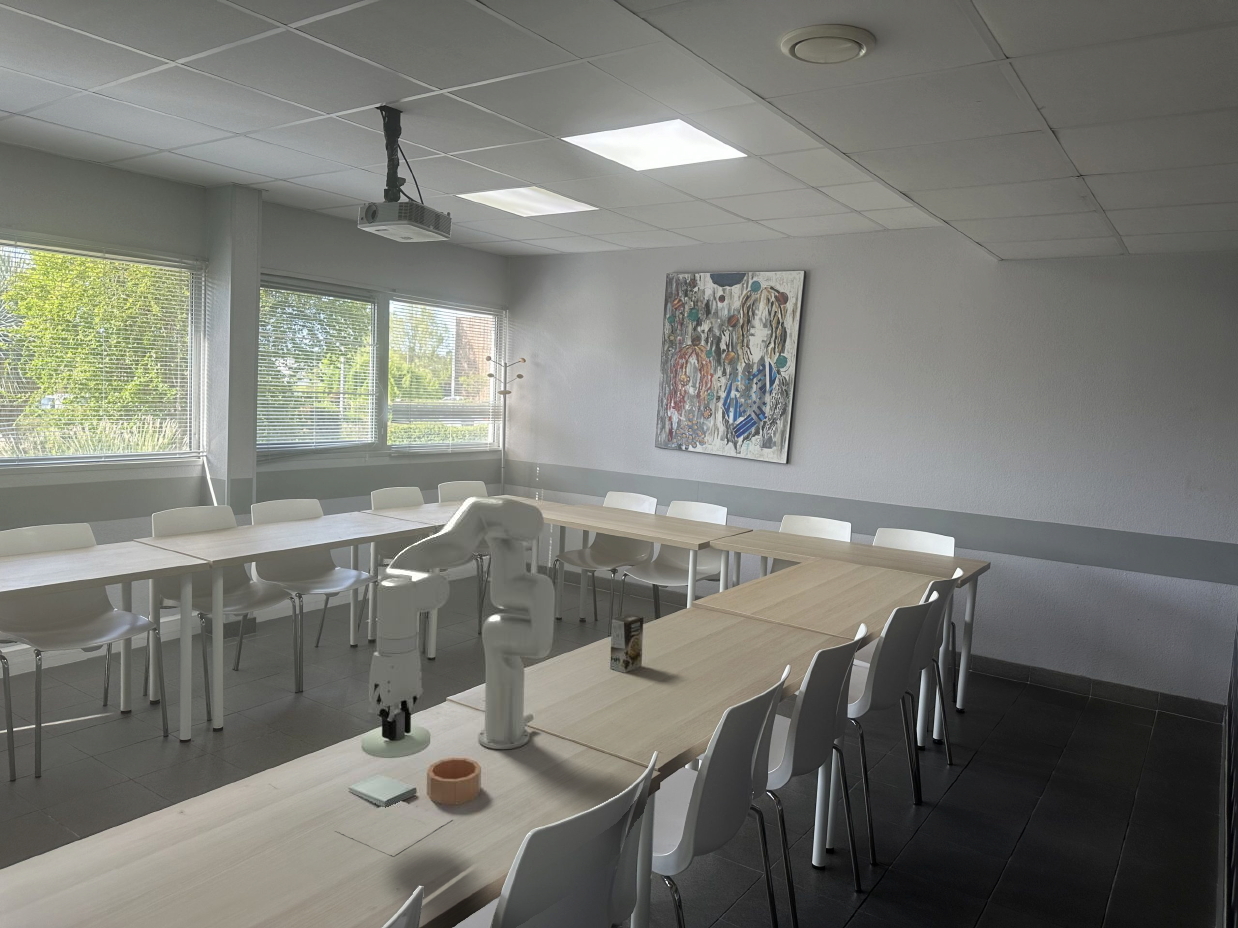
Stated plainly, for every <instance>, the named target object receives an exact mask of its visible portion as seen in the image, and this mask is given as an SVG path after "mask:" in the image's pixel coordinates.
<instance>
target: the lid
mask: <svg viewBox="0 0 1238 928" xmlns="http://www.w3.org/2000/svg"><path fill="white" fill-rule="evenodd" d="M394 720H396V739H395V740H393V741H392V740H389V739H386V738H383V737H382V726H380V727H377V728H374V729H372V730H370V731H368V732H366V733H365V734H364V735H362V738H361V750H362V751H363V752H364V753H365V754H366V755H369V756H372V757H375V758H381V759H398V758H405V757H410V756H413V755H416V754H418V753H421V752H422V751H424V750H426V749H427V748H428V747H429V746H430V744H431V733H430V731H429V730H428V729H427V728H426V727H425V728H424V726H420V725H415V724H411V732H410V733H408V734H407V733H405V711H403V710H400V709H394Z"/></svg>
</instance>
